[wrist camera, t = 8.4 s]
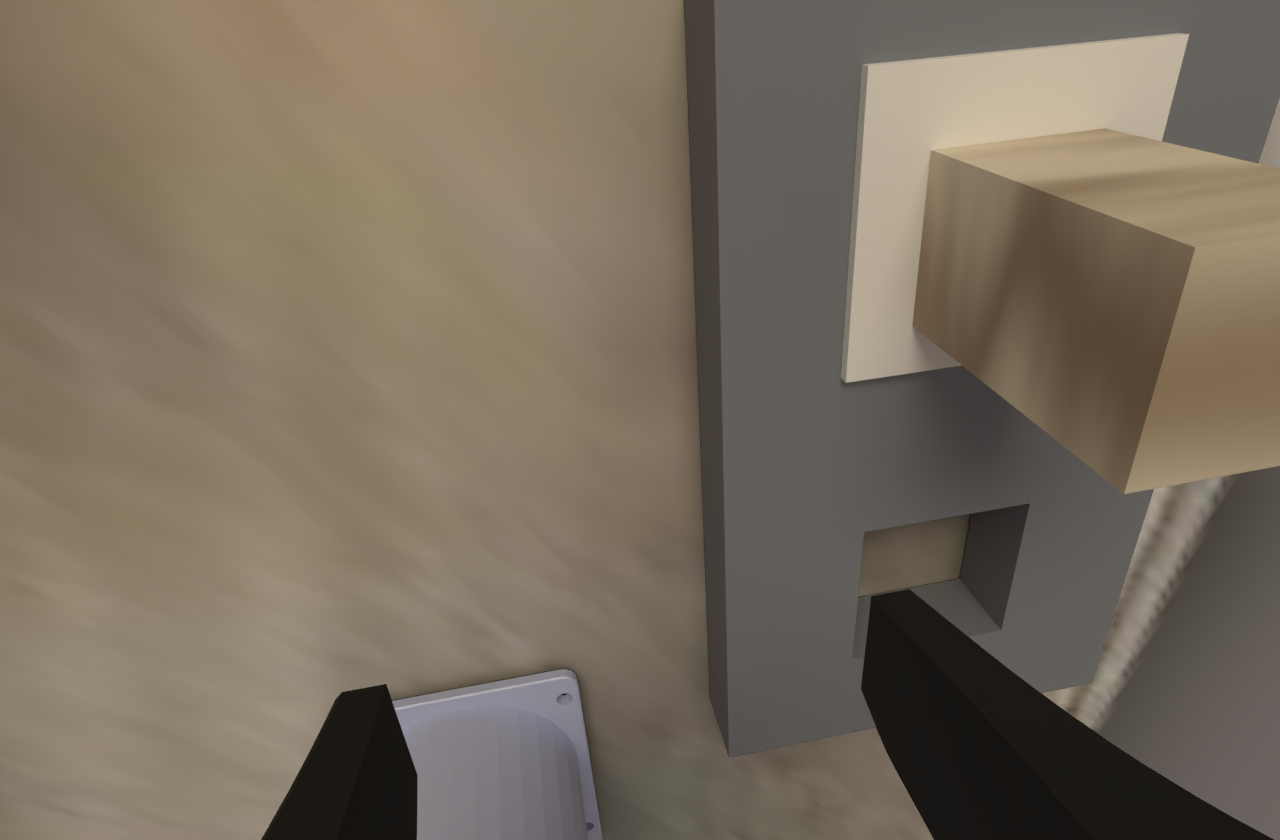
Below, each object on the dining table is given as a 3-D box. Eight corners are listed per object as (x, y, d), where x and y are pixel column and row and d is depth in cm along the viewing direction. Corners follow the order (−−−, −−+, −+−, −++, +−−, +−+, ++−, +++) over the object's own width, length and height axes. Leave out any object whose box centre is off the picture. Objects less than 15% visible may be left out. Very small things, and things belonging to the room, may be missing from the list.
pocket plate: (1046, 631, 29) (1097, 689, 27) (709, 697, 27) (731, 765, 25) (1229, -57, 18) (1344, -63, 16) (683, -10, 16) (718, -9, 14)
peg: (1068, 302, 19) (1346, 453, 13) (912, 326, 18) (1123, 494, 12) (1105, 128, 17) (1457, 209, 11) (930, 149, 16) (1195, 247, 10)
